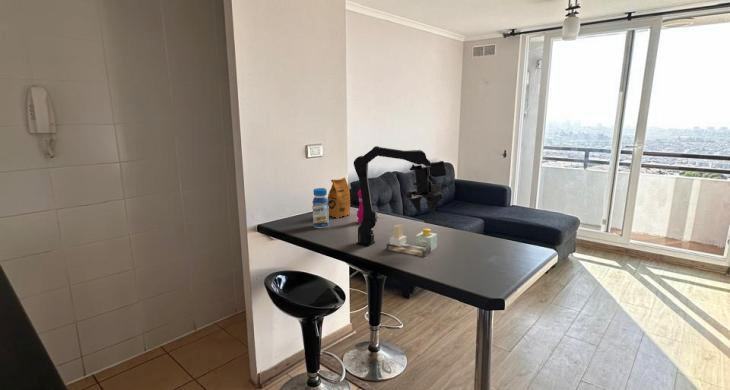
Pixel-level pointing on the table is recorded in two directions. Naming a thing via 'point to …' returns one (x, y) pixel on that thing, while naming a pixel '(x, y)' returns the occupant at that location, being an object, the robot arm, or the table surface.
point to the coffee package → (339, 198)
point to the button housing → (426, 240)
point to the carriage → (398, 236)
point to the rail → (410, 249)
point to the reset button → (426, 232)
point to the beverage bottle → (320, 208)
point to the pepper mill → (360, 208)
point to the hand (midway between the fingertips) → (425, 214)
